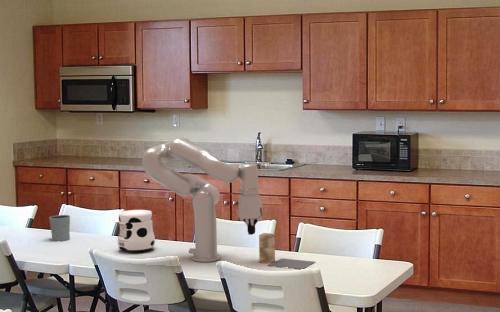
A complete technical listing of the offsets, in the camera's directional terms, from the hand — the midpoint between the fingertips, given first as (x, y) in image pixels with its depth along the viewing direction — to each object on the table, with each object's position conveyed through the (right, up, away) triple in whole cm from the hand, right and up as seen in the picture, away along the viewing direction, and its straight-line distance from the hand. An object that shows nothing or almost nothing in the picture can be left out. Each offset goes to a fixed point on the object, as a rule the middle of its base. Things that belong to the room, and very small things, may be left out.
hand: (251, 233), depth 329 cm
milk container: (-54, -11, +26) cm, 61 cm away
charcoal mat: (+17, -12, -8) cm, 22 cm away
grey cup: (-97, -9, +54) cm, 111 cm away
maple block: (+7, -12, -3) cm, 14 cm away
